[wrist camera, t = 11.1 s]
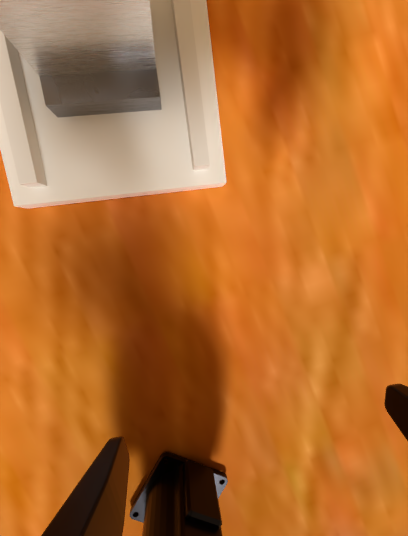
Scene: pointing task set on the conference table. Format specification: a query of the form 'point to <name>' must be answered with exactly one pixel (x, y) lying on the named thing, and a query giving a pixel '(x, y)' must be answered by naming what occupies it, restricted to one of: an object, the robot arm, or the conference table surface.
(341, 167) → the conference table surface
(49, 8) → the tall brushed metal block
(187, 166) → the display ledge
